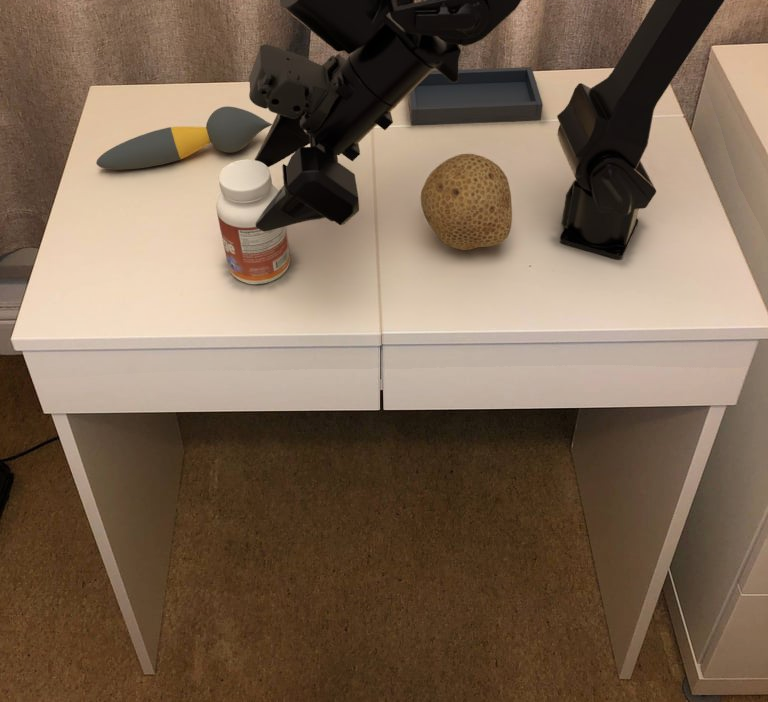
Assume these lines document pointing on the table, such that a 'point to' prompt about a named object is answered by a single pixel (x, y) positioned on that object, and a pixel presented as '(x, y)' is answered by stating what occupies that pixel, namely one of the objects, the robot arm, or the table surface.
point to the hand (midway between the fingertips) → (258, 196)
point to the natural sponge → (468, 202)
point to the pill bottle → (250, 223)
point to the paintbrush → (185, 140)
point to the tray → (476, 97)
